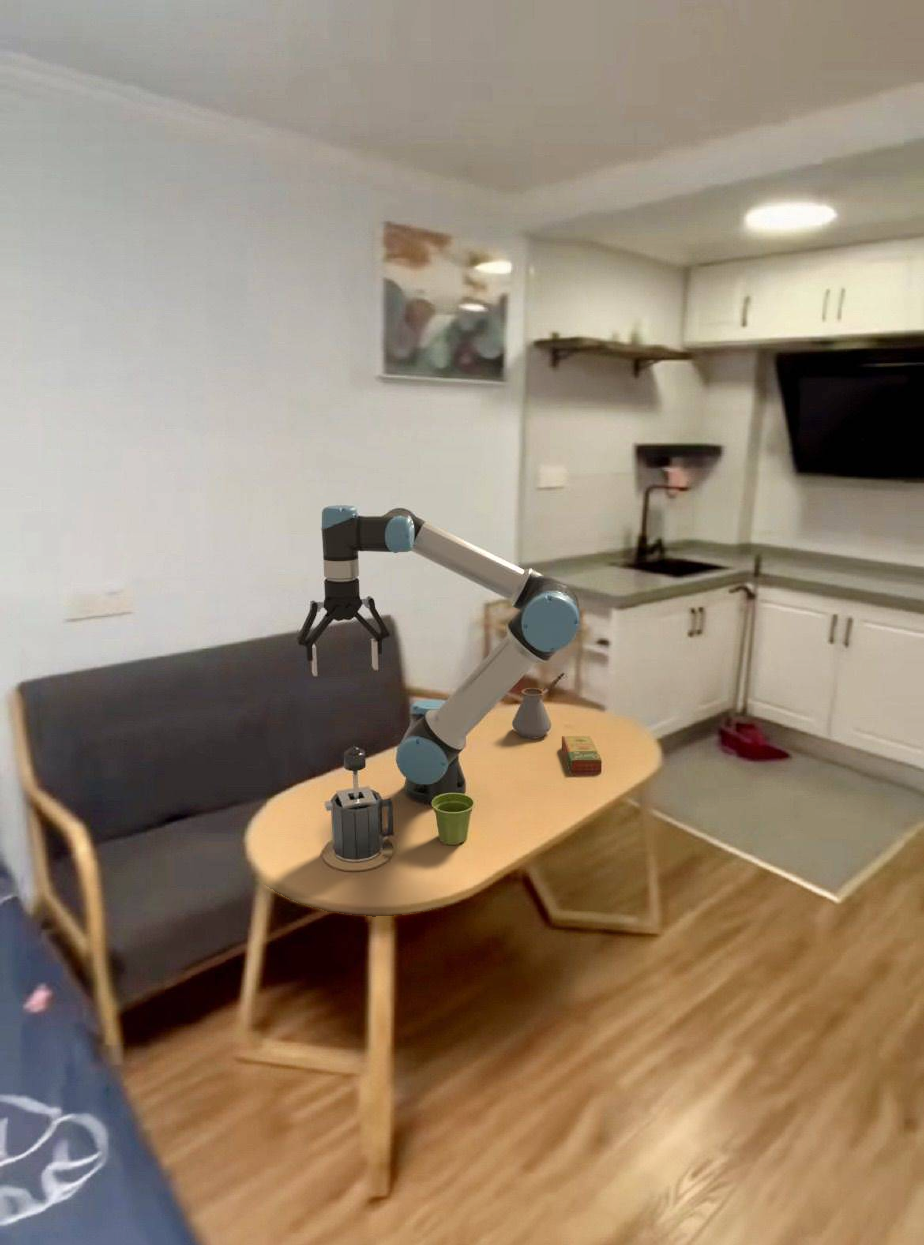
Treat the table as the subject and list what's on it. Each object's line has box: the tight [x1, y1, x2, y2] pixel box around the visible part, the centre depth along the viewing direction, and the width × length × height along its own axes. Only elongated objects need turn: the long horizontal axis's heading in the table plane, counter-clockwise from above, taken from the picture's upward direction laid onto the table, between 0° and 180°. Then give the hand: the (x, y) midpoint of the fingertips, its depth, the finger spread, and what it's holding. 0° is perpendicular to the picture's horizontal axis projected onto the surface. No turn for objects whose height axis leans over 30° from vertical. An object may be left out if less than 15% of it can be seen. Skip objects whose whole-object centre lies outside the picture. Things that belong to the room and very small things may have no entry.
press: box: [321, 785, 395, 873], centre depth 167 cm, size 15×15×13 cm
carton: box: [561, 735, 603, 775], centre depth 213 cm, size 8×16×4 cm, turn 2°
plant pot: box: [430, 793, 475, 846], centre depth 173 cm, size 9×9×9 cm
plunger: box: [343, 746, 366, 809], centre depth 165 cm, size 7×7×21 cm
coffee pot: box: [511, 672, 568, 739], centre depth 233 cm, size 21×12×15 cm, turn 136°
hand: (345, 671), depth 177 cm, fingers open, 13 cm apart
